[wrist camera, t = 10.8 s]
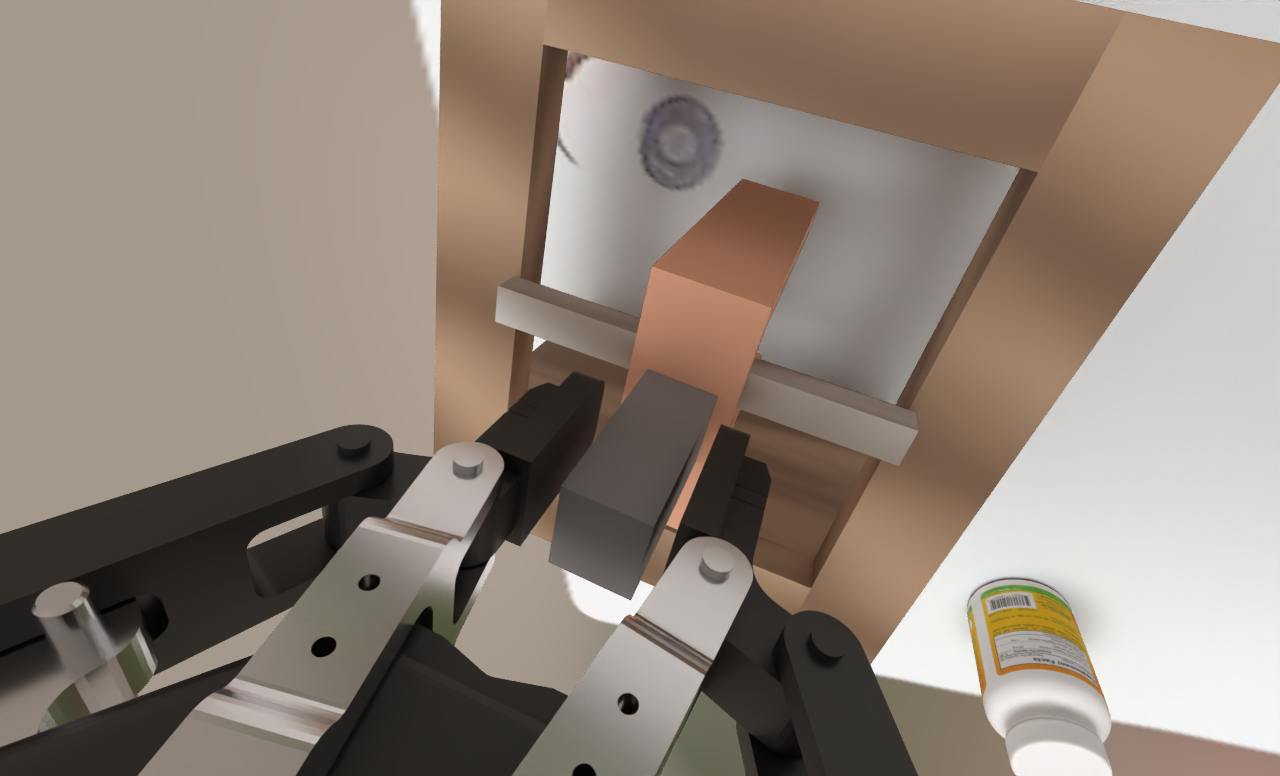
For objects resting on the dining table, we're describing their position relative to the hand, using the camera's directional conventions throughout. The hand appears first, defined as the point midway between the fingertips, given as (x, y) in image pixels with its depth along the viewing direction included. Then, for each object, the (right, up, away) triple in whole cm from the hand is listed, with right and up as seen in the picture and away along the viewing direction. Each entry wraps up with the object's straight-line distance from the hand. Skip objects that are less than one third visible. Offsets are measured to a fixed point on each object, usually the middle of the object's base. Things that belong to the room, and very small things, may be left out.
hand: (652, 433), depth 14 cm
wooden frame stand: (+6, +9, +16) cm, 19 cm away
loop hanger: (+4, +5, +10) cm, 12 cm away
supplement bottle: (+22, -12, +22) cm, 33 cm away
